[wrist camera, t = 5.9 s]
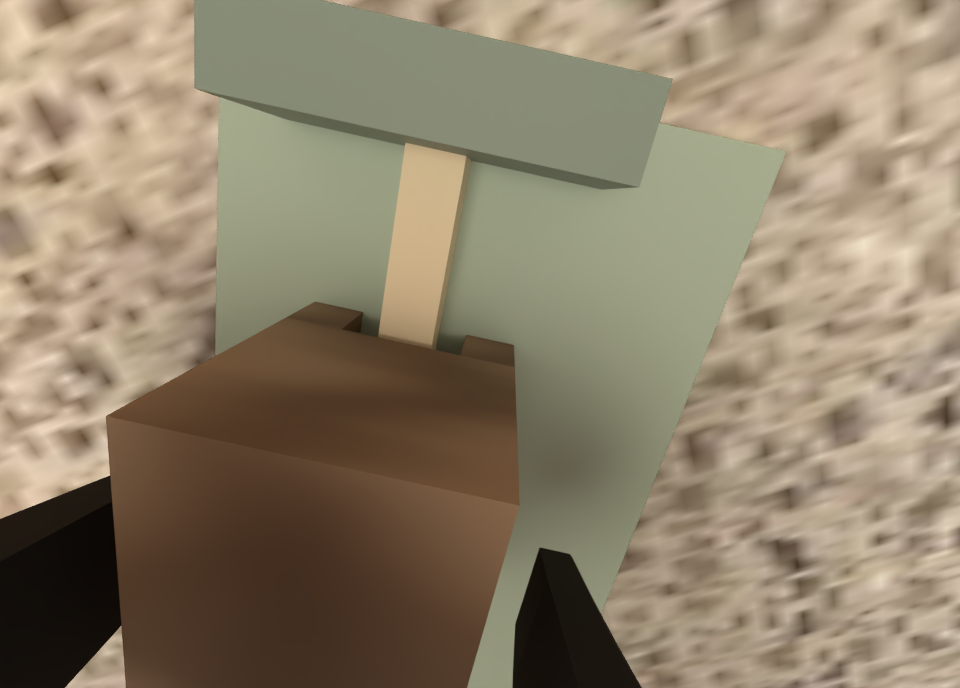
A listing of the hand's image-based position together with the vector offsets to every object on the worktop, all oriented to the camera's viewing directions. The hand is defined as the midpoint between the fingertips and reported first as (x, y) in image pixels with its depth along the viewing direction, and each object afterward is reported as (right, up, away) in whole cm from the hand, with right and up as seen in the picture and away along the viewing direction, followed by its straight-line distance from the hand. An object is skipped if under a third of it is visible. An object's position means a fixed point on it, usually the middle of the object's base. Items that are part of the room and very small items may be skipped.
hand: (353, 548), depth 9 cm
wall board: (+1, +1, +4) cm, 5 cm away
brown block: (0, +1, +3) cm, 4 cm away
